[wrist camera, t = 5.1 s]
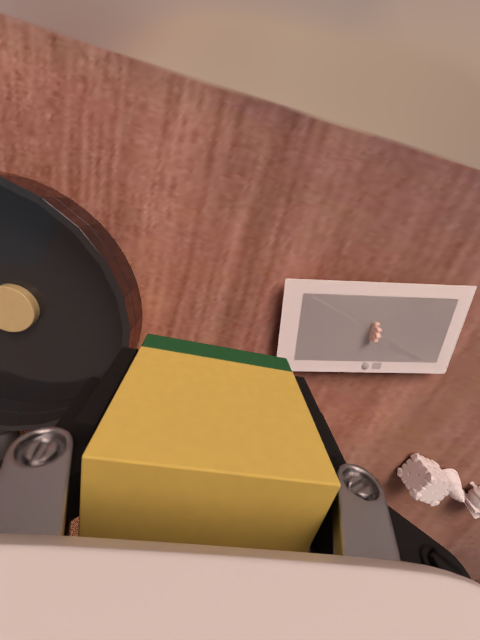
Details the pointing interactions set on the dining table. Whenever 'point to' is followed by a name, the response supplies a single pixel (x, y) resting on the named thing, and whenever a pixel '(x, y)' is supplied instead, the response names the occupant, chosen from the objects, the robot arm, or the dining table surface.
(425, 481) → the game pieces
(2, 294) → the disc
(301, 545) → the sponge
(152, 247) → the dining table surface
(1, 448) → the pan handle
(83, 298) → the pan
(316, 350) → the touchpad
